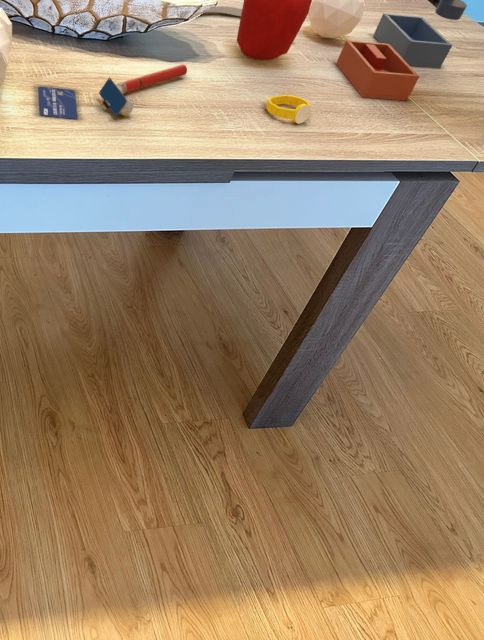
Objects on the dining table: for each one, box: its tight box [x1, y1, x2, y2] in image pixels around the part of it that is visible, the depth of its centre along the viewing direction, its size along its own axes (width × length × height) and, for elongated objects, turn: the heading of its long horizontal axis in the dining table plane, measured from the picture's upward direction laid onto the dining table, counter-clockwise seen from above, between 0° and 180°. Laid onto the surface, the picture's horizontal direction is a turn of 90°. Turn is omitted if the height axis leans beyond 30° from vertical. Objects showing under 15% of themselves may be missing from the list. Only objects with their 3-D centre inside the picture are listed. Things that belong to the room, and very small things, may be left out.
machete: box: [202, 6, 242, 17], centre depth 134 cm, size 26×2×5 cm
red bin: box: [335, 39, 420, 101], centre depth 121 cm, size 12×8×4 cm, turn 4°
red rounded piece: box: [236, 0, 313, 61], centre depth 120 cm, size 11×10×14 cm
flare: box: [115, 64, 188, 95], centre depth 111 cm, size 2×15×2 cm
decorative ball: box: [307, 0, 366, 39], centre depth 131 cm, size 9×10×12 cm
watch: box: [265, 93, 311, 125], centre depth 110 cm, size 6×3×6 cm
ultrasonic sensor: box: [98, 76, 134, 118], centre depth 105 cm, size 6×2×3 cm, turn 21°
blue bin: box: [372, 13, 453, 69], centre depth 132 cm, size 12×8×4 cm, turn 4°
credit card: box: [37, 86, 79, 120], centre depth 105 cm, size 8×5×1 cm, turn 0°
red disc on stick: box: [361, 44, 387, 72], centre depth 121 cm, size 9×4×4 cm, turn 3°
